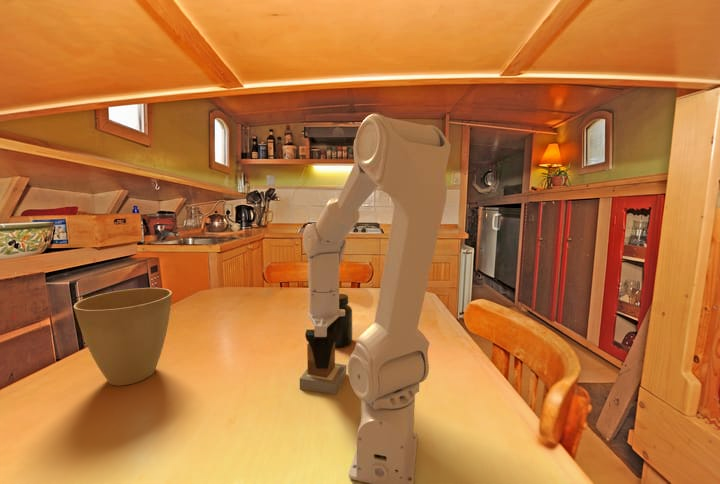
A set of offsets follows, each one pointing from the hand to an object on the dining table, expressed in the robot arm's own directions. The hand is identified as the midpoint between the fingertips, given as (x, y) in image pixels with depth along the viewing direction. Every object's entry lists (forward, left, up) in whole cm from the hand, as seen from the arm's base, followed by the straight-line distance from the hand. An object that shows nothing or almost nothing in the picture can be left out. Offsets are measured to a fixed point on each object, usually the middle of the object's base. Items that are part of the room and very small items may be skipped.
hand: (324, 357), depth 58 cm
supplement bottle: (+17, +2, -5) cm, 18 cm away
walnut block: (0, 0, -3) cm, 3 cm away
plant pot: (-8, +38, -5) cm, 39 cm away
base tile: (0, 0, -5) cm, 5 cm away
